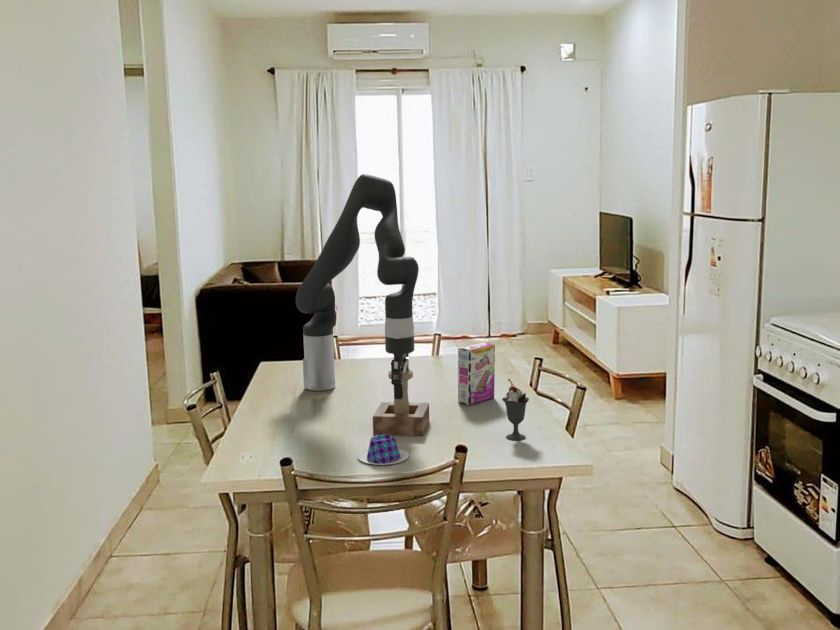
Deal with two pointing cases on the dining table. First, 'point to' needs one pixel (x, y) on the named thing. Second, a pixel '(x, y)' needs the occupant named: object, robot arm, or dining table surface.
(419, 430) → the collar block
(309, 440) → the dining table surface
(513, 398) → the sundae
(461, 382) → the candy bar box
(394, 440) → the pudding
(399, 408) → the handle
